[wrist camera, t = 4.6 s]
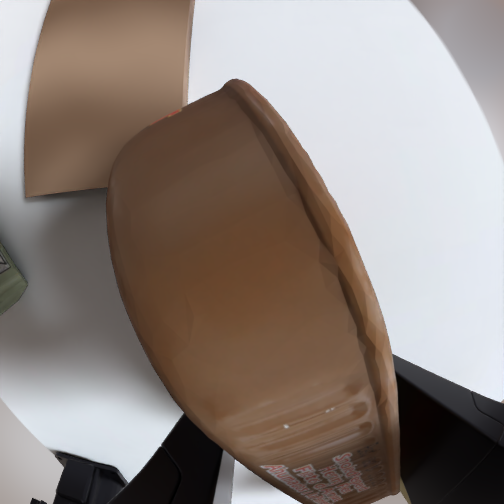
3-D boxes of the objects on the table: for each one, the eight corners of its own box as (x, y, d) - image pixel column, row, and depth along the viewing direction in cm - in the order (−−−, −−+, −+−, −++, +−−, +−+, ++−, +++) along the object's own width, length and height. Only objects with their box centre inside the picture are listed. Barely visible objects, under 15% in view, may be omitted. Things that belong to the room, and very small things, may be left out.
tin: (346, 387, 14) (412, 501, 6) (297, 411, 14) (344, 534, 6) (231, 112, 9) (313, -39, 1) (151, 151, 9) (-27, 135, 1)
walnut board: (186, 180, 10) (181, 182, 9) (40, 194, 10) (25, 197, 9) (208, -83, 6) (208, -95, 5) (90, -59, 5) (84, -69, 4)
